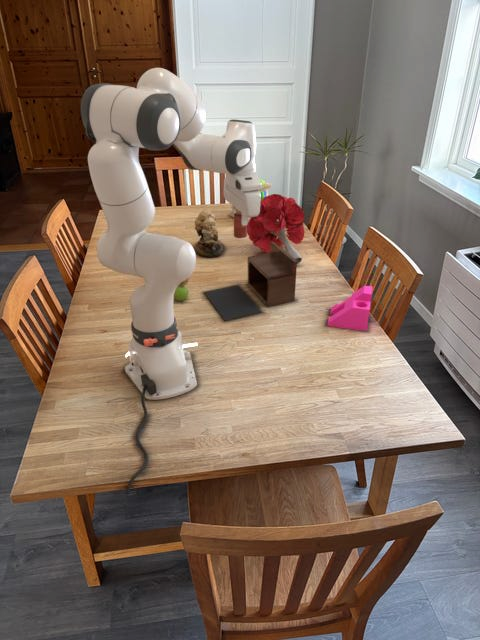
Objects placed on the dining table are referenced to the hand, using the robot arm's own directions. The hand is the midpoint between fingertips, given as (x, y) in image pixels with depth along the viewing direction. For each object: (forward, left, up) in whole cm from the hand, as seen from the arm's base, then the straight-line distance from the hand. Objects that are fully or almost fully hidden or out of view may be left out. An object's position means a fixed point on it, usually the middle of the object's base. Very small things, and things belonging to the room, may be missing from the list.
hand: (240, 221), depth 154 cm
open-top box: (+1, -12, -28) cm, 31 cm away
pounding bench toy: (+67, -37, -29) cm, 82 cm away
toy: (0, 0, -5) cm, 5 cm away
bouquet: (+29, -29, -29) cm, 50 cm away
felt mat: (0, +3, -28) cm, 29 cm away
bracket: (-25, -27, -29) cm, 47 cm away
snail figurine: (+8, +18, -25) cm, 33 cm away
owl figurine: (+43, -5, -29) cm, 52 cm away
